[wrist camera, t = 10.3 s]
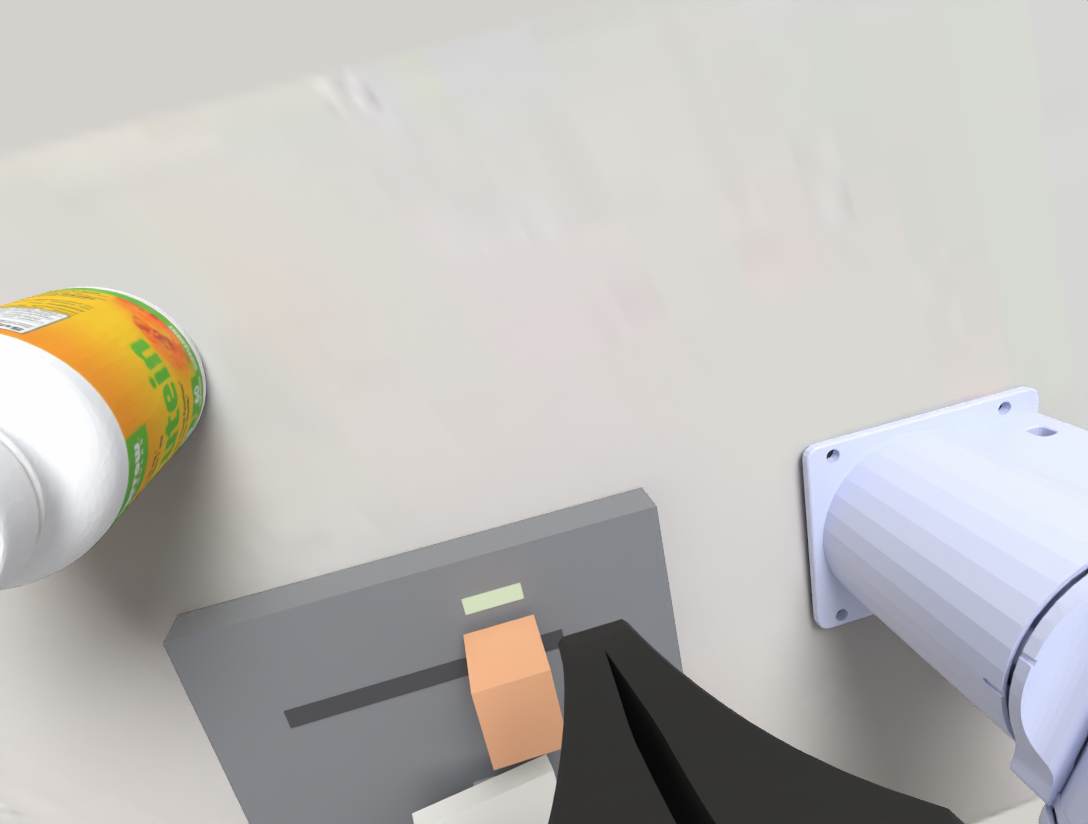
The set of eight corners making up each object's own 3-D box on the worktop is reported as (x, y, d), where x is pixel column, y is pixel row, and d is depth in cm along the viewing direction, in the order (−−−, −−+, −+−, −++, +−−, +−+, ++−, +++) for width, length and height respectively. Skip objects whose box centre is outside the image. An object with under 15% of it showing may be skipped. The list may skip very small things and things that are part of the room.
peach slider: (533, 614, 23) (550, 669, 20) (550, 684, 24) (569, 746, 21) (463, 634, 22) (471, 693, 20) (483, 705, 23) (493, 770, 21)
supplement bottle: (225, 454, 21) (90, 656, 12) (31, 474, 20) (-275, 709, 11) (190, 277, 19) (1, 356, 10) (-25, 289, 18) (-441, 389, 9)
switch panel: (641, 487, 24) (660, 511, 22) (703, 861, 31) (721, 902, 29) (178, 615, 22) (158, 651, 20) (348, 983, 29) (344, 1036, 27)
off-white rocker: (546, 754, 25) (553, 770, 24) (561, 813, 26) (569, 830, 25) (411, 813, 24) (415, 832, 23) (433, 873, 25) (437, 893, 24)
